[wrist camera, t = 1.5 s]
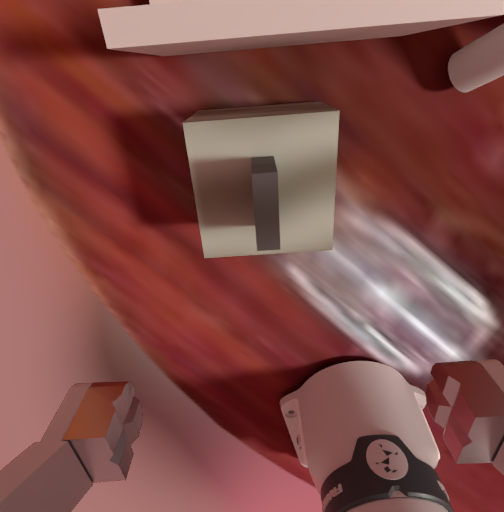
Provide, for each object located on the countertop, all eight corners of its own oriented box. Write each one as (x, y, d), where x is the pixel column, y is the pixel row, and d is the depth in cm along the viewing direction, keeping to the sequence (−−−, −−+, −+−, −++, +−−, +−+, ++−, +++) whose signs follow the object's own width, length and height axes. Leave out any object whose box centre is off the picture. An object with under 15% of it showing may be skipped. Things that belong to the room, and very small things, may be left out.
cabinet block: (316, 215, 32) (344, 278, 22) (213, 222, 32) (197, 287, 23) (319, 101, 27) (356, 119, 18) (197, 110, 28) (168, 133, 18)
